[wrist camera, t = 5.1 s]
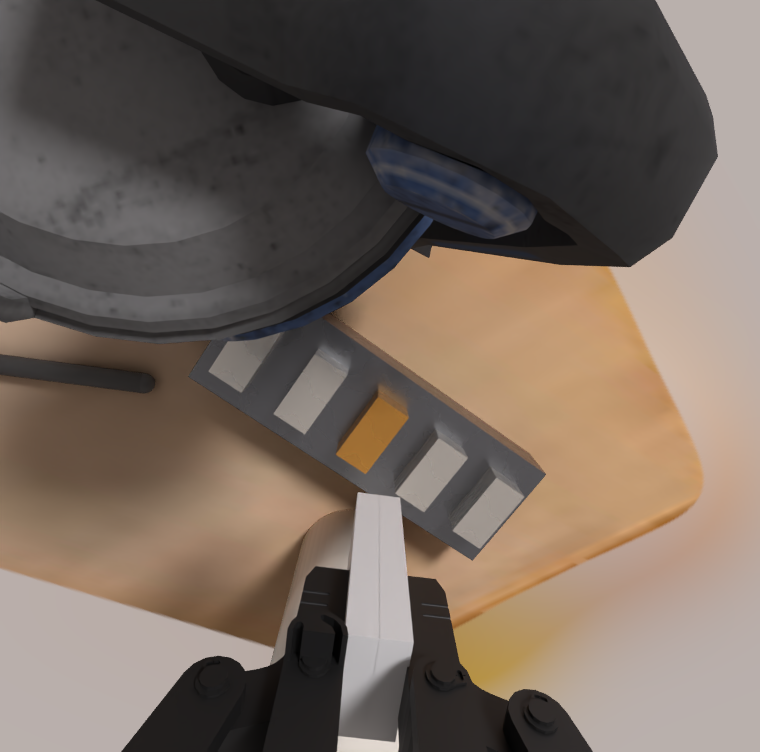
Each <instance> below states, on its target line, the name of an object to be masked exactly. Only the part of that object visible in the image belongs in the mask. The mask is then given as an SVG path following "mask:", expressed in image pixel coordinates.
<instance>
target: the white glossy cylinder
mask: <svg viewBox="0 0 760 752" xmlns="http://www.w3.org/2000/svg"><path fill="white" fill-rule="evenodd" d="M354 515H355V510H354V509H350V510H341V511H336V512H333V513H330V514H328V515H326V516H324V517H322V518H321V519H319V520H318V521H317V522H316V523H314V525H313V526H312V527H311V528H310V529H309V530H308V532H307V533H306V535H305V537H304V540H303V542H302V546H301V550H300V553H299V557H298V561H297V565H296V569H295V572H294V576H293V580H292V584H291V588H290V591H289V595H288V599H287V603H286V607H285V610H284V614H283V618H282V622H281V626H280V629H279V633H278V637H277V641H276V645H275V648H274V652H273V656H272V660H271V664H270V665H272V664H274V663H276V662H277V661H278V660H279V659H281V658H282V657H283V656H284V655H285V647H286V638H287V629H288V627H289V625H290V623H291V621H292V620H293V619H294V618H295V617H297V613H298V609H299V604H300V600H301V596H302V592H303V587H304V583H305V578H306V576H307V575H308V574H309V573H310V572H311V571H312V569H313V568H314V567H315V566H319V567H327V568H336V569H344V570H347V566H348V558H349V551H350V543H351V536H352V529H353V522H354ZM398 750H399V736H398V730H397V736H396V741H395V742H388V741H379V740H370V739H360V738H351V737H342V736H338V745H337V752H398Z"/></svg>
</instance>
